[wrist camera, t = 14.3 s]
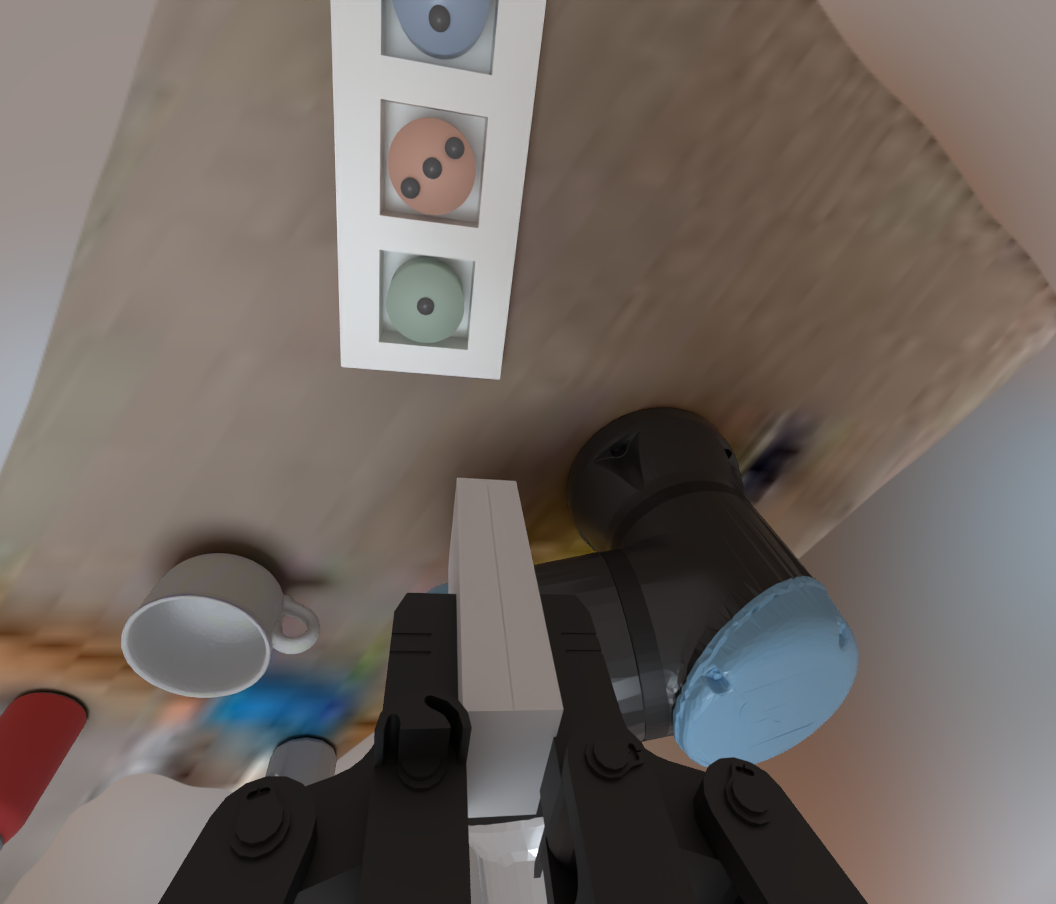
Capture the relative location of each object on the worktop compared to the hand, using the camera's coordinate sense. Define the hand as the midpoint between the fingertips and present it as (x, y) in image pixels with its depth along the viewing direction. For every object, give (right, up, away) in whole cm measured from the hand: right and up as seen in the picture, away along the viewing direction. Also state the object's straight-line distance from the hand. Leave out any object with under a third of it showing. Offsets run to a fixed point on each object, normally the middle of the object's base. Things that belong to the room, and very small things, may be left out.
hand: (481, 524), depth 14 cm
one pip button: (-6, +13, +24) cm, 28 cm away
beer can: (-46, -24, +40) cm, 65 cm away
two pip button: (-4, +27, +16) cm, 31 cm away
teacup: (-24, -10, +36) cm, 44 cm away
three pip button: (-5, +20, +20) cm, 28 cm away
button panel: (-5, +20, +21) cm, 29 cm away
